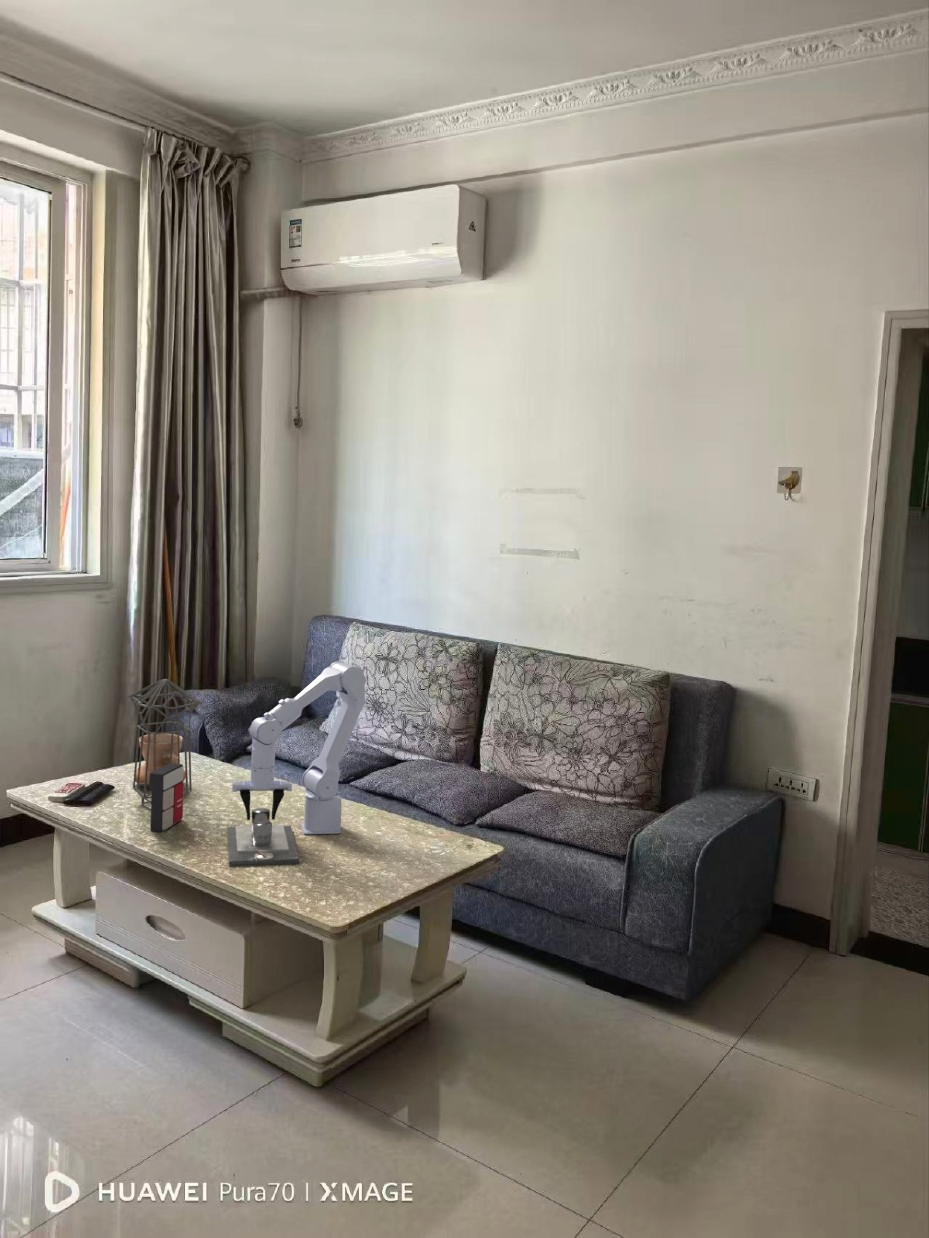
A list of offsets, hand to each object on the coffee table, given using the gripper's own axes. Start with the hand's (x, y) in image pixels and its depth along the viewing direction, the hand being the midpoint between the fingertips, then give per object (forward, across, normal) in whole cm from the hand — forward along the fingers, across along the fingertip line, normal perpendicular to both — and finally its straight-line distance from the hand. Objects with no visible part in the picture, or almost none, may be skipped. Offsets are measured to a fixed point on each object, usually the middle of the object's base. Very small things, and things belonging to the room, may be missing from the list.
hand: (260, 818), depth 250 cm
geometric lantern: (+5, +25, -27) cm, 37 cm away
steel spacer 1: (+3, 0, 0) cm, 3 cm away
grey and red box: (+5, +23, -11) cm, 26 cm away
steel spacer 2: (+3, 0, +10) cm, 10 cm away
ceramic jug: (+5, +26, -46) cm, 53 cm away
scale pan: (+4, 0, +5) cm, 6 cm away
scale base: (+5, 0, +7) cm, 9 cm away
